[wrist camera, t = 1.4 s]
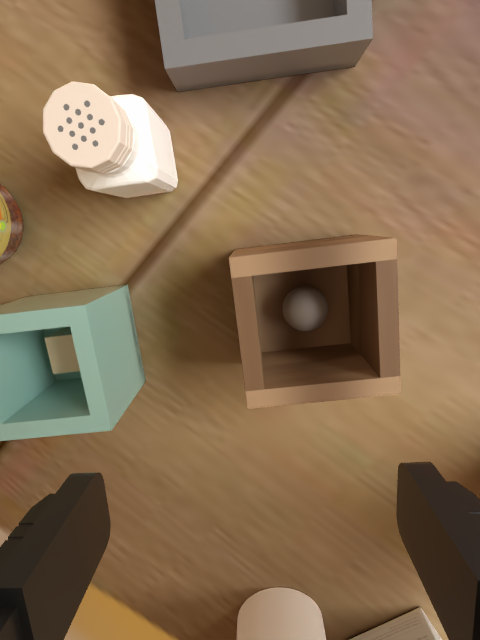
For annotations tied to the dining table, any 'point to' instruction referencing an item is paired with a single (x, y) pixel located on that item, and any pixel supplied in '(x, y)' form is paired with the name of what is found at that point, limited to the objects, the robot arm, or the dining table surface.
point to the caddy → (259, 38)
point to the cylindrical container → (280, 616)
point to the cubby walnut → (318, 319)
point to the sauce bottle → (9, 225)
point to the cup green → (67, 362)
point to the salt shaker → (110, 141)
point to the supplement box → (403, 628)
